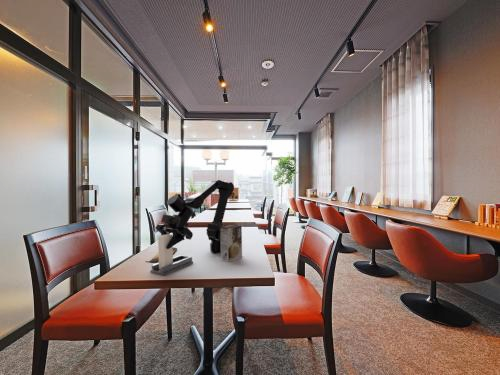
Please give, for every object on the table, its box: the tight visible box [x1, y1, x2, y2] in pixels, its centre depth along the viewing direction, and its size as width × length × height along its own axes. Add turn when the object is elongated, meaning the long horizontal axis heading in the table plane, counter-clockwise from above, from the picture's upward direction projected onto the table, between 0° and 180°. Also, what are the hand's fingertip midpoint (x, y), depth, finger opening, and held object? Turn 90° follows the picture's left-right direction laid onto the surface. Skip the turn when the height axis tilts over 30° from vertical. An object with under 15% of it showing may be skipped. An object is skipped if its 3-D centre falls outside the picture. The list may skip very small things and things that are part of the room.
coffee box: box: [220, 224, 243, 263], centre depth 117 cm, size 9×6×16 cm
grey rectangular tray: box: [150, 254, 194, 277], centre depth 105 cm, size 16×8×3 cm, turn 149°
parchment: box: [145, 247, 178, 263], centre depth 124 cm, size 25×10×1 cm, turn 0°
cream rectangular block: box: [157, 234, 174, 269], centre depth 101 cm, size 4×4×14 cm
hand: (163, 247), depth 100 cm, fingers open, 5 cm apart
